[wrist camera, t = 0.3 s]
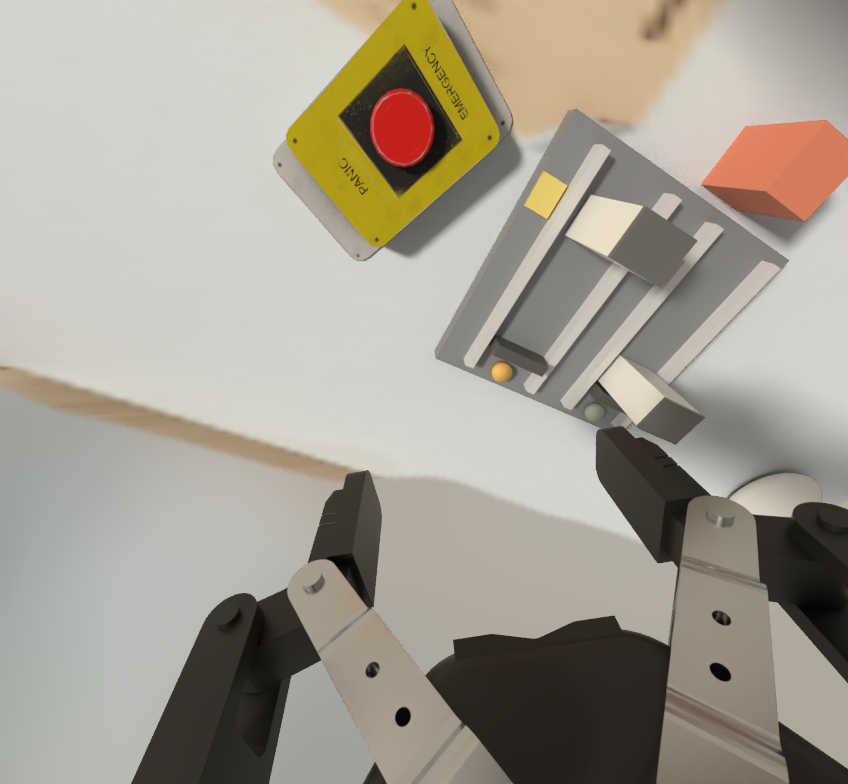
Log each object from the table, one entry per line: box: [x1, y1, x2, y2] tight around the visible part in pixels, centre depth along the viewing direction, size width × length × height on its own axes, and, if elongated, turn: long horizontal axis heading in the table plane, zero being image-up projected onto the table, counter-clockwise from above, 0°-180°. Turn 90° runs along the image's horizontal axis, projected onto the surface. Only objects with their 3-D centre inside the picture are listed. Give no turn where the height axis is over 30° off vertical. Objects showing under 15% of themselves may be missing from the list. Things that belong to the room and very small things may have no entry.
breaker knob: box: [598, 355, 705, 445], centre depth 32 cm, size 3×4×7 cm
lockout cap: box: [701, 120, 848, 222], centre depth 25 cm, size 4×4×6 cm
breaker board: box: [435, 109, 789, 429], centre depth 31 cm, size 20×22×4 cm
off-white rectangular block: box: [565, 195, 698, 287], centre depth 25 cm, size 3×4×7 cm
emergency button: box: [273, 0, 512, 260], centre depth 24 cm, size 9×4×15 cm
